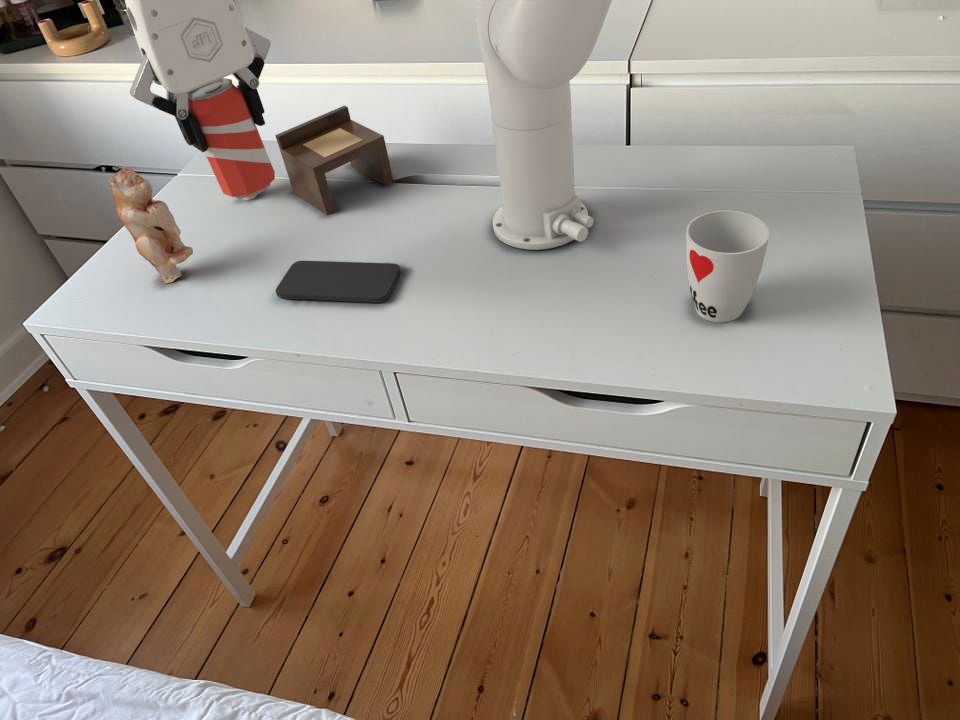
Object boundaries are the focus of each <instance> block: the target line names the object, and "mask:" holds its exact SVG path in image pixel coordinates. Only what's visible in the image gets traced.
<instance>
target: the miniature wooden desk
mask: <svg viewBox="0 0 960 720" xmlns="http://www.w3.org/2000/svg"><path fill="white" fill-rule="evenodd" d="M275 138H276V143H277V146H278V148H279V152H280V155H281V158H282V161H283V165H284V167H285V170H286V173H287V176H288V180H289V182H290V186H291V189H292V192H293V194H294V195H296V196H298V197H299V198H301V199H302V200H303V201H305V202H307V203H308V204H310V205H311V206H312V207H314V208H315V209H317V210H318V211H320V212H322V213H324V215H327V216H328V215H330V214H332V213H335V212H336V208H335V204H334V201H333V197H332V194H331V190H330V187H329V183H328V179H327V177H326V174H327V173H329V172H331V171H334V170H336V169H337V168H338V169H339V168H340V167H342V166H344V165H346V164H349V163H350V166H351V167H352V168H354V169H356V170H357V171H359V172H361V173H363V174H365V175H366V176H368V177H370V178H372V179H374V180H376V181H377V182H379V183H380V184H382V185H384V186H388V185H390V184H392V183H394V182H395V180H394V175H393V172H392V167H391V163H390V158H389V154H388V148H387V145H386V140H385V135H383V134H381V133H379V132H377V131H375V130H373V129H371V128H369V127H367V126H365V125H362V124H361V123H359V122H358V121H355V120H353V119H351V115H350V110H349V107H348V106H346V105H342V106H339V107H338V108H335V109H333V110H331V111H328V112H325V113H324V114H321V115H319V116H316V117H314V118H312V119H309V120H308V121H305V122H303V123H299V124H298V125H295V126H293V127H290V128H289V129H286V130H284V131H282V132H279V133H277V134H275Z"/></svg>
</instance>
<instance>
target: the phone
mask: <svg viewBox="0 0 960 720" xmlns="http://www.w3.org/2000/svg"><path fill="white" fill-rule="evenodd" d="M401 270H402V269H401V267H400V265H399V264H397V263H391V262H365V261H364V262H360V261H359V262H358V261H334V260H333V261H329V260H326V261H325V260H298V261H295V262H294V263H292V264H291V265H290V267H289V269H287V271H286V273H285V274H284V276H283V278H282V279H281V280H280V282H279V283H278V285H277V286H276V288H275V294H276V296H277V297H278V298H279V299H287V300H288V299H291V300H314V301H333V302H334V301H335V302H356V303H357V302H358V303H383V302H385V301H388V299H389V298H390V296H391V294H392V292H393V290H394V288H395V286H396V283H397V281H398V279H399V277H400V275H401V272H402V271H401Z"/></svg>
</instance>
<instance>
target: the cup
mask: <svg viewBox="0 0 960 720" xmlns="http://www.w3.org/2000/svg"><path fill="white" fill-rule="evenodd" d="M685 232H686V234H685V235H686V236H685V237H686V240H685V241H686V253H685V254H686V272H687V279H688V286H689V287H688V288H689V292H690V293H689V294H690V296H691V299H692V302H693V305H694V308H695V312H696V313H697V314H698V316H700V317H701V318H702V319H704V320H706V321H709V322H713V323H729V322H732V321H734V320H737V319H738V318H739V317H740V316H741V315H742V314H743V313H744V310H745V309H746V307H747V305H748V304H749V302H750V300H751V299H752V296H753V294H754V291H755V288H756V286H757V283H758V281H759V278H760V275H761V273H762V269H763V266H764V261H765V256H766V251H767V248H768V243H769V239H770V228H769V227H768V225H767V224H766V222H765V221H763V220H762V219H760V218H759V217H757V216H755V215H753V214H751V213H748V212H744V211H740V210H728V209H727V210H725V209H724V210H714V211H709V212H705V213H702V214H700V215H698V216H696V217H694V218H693V219H691V220H690V222H689V223H688V225H687V226H686V231H685Z"/></svg>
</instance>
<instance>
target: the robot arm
mask: <svg viewBox="0 0 960 720" xmlns="http://www.w3.org/2000/svg"><path fill="white" fill-rule="evenodd" d="M124 2H125V7H126V11H127V15H128V18H129V21H130V24H131V28H132V31H133V34H134V37H135V40H136V44H137V46H138V49H139V52H140V55H141V56H142V60H141V62H140V65H139V67H138V69H137V72H136V75H135V77H134V80H133V82H132V84H131V87H130V89H129V94H130V96H131V97H132V98H133V99H136V101H139V102H141V103H144V104H145V105H148V106H150V107H153V108H155V109H157V110H159V111H161V112H163V113H166V114H168V115H171V116H173V117H174V118H175V121H176V122H177V123H176V124H177V126H178V128H179V129H180V132H181V135H182V137H183V139H184V141H185V143H186V144H187V145H189V147H191V146H192V147H194V148H195V149H197V150H198V151H200V152H201V153H205V151H207V149H208V146H207V143H206V141H205V138H204V136H203V134H202V131H201V129H200V126H199V124H198V121H197V119H196V117H195V116H194V115H192V114H191V113H190V112H189V109H188V96H189V91H192V90H194V89H197V88H199V87H202V86H204V85H207V84H209V83H212V82H214V81H217V80H219V79H221V78H226V77H229V76H231V75H232V76H233V77H234V78H235V79H236V80H237V81H238V82H237V85H236V87H237V88H238V89H239V90H240V91H242V93H243V95H244V98H245V100H246V102H247V105H248V108H249V110H250V113H251V115H252V118H253V120H254V123H255V125H256V126H258V127H262V126H265V125H266V121H265V119H264V116H263V114H265V108H264V105H263V102H262V100H261V96H260V93H259V91H258V88H259V86H260V81H259V80H260V77H261V75H262V72H263V69H264V66H265V60H266V59H267V56H268V55H269V52H270V48H271V44H272V43H271V40H270V39H268V38H266V37H265V36H263V35H261V34H259V33H258V32H255V31H253V30H251V29H250V28H247V27H246V26H245V25H244V23H243V20H242V17H241V15H240V12H239V10H238V9H237V6H236V4H235V2H234V0H124ZM612 2H613V0H477V2H476V11H475V19H476V20H475V22H476V23H475V24H476V32H477V37H478V43H479V47H480V52H481V58H482V62H483V67H484V71H485V72H484V73H485V77H486V82H487V83H486V84H487V90H488V95H489V105H490V112H491V113H490V114H491V124H492V132H493V141H494V149H495V155H496V165H497V173H498V182H499V189H500V197H501V206H500V208H498V209H497V210H496V212H495V213H494V215H493V217H492V228H493V233H494V235H495V236H496V237H497V239H498V240H499V241H501V242H502V243H504V244H506V245H508V246H510V247H512V248H516V249H521V250H527V251H529V250H530V251H540V250H549V249H553V248H557V247H562V246H564V245H566V244H568V243H570V242H573V241H574V240H575V241H576V242H579V243H582V242H584V241H585V240H586V239H587V237H588V235H589V229H590V228H592V227H593V225H594V223H595V219H594V217H592V216H590V215H589V213H588V209H587V207H586V205H585V204H584V203H583V202H582V199H581V197H580V196H578V195H576V185H575V166H574V165H575V164H574V145H573V144H574V143H573V123H572V93H571V84H570V83H571V80H573V79H574V78H575V77H576V76H577V75H578V74H579V73H580V72H581V70H582V69H583V68H584V66H585V65H586V64H587V62H588V60H589V58H590V57H591V55H592V52H593V51H594V49H595V46H596V44H597V42H598V38H599V36H600V34H601V31H602V28H603V26H604V23H605V21H606V18H607V15H608V12H609V10H610V7H611V4H612ZM153 82H154V83H155V84H156V85H158V86H162V87H163V88H164V90H165V91H166V97H163V96H161V95H159V94H156V93H155V92H154V93H153V92H152V91H151V87H152V84H153Z"/></svg>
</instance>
